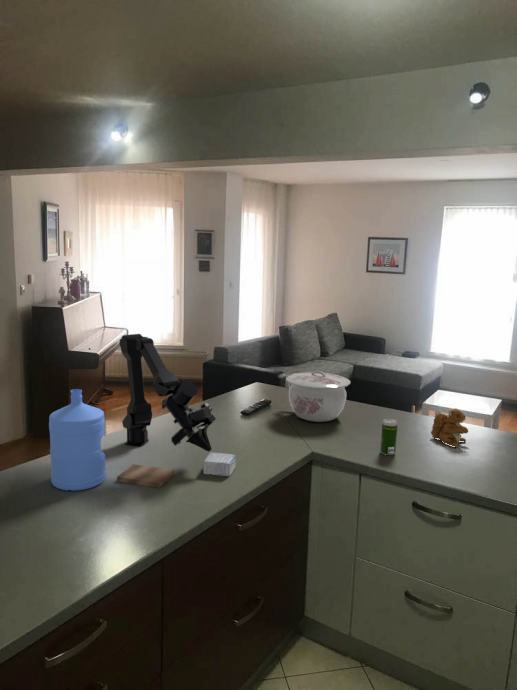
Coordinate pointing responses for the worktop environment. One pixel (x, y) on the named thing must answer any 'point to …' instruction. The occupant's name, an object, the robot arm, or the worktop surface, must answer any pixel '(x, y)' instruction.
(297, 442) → the worktop surface
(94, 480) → the water jug
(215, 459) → the medicine box
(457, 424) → the stuffed squirrel
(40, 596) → the worktop surface
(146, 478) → the walnut cutting board
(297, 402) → the chamber pot
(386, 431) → the beer can
